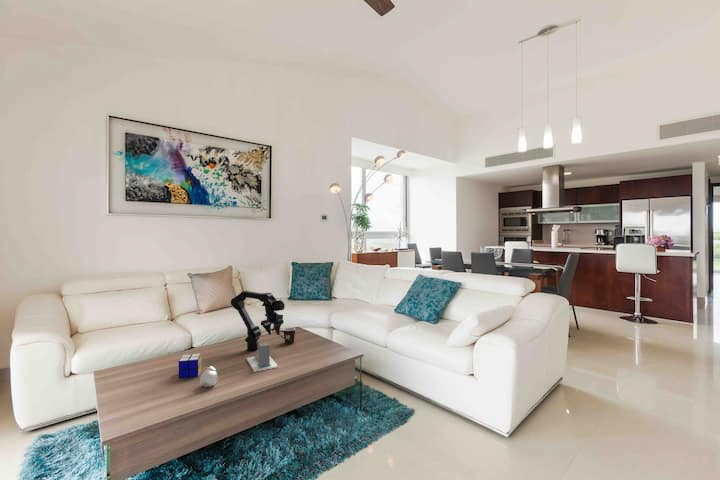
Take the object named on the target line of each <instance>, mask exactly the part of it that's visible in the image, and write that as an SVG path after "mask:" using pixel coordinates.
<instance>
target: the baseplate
mask: <svg viewBox="0 0 720 480" xmlns="http://www.w3.org/2000/svg"><path fill="white" fill-rule="evenodd" d="M246 361H247V362H248V364H249V366H250V367H251V369H252V371H253V372H254V373H257V371H258V372H263V371H267V369H268V370H272V368H273V369H277V367H278V368H279V366H278V364H277V363H276V361H274V358H272V357H271V356H270V366H265V367H261V366H260V365H259V352H257V353H254V356H251V357H246ZM262 370H263V371H262Z"/></svg>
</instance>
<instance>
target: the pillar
mask: <svg viewBox="0 0 720 480" xmlns="http://www.w3.org/2000/svg"><path fill="white" fill-rule="evenodd" d="M258 347H259V348H258V353H259V365H260V366H261V367H265V366H270V357H271V355H270V353H271V352H270V344H269V343H268V342H263V343H258Z"/></svg>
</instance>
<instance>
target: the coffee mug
mask: <svg viewBox="0 0 720 480" xmlns="http://www.w3.org/2000/svg"><path fill="white" fill-rule="evenodd" d="M280 332H282V333H283V336H282V335H281V333H280ZM278 336H280V337H281V338H282V339H284V344H285V345H293V344H294V343H295V337H296V328H295V327H286V328H283V329H282V330H281V329H280V331H279V335H278Z"/></svg>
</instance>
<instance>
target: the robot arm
mask: <svg viewBox="0 0 720 480" xmlns="http://www.w3.org/2000/svg"><path fill="white" fill-rule="evenodd" d="M246 299H253V300H258V301H260V302H262V305H261V307H264V311H265V314H264V316H265V317H266V319H263V320H261V321H260V325H261V326H262V327H263V329H264V330H265V331H266V332H267V334H268V335H269V336H271V335H272V328H271V326H272V325H273V329H274V331H275V334H276V335H277V336H280V335H279V331H280V332H281V326H282V325H283V323H285V322H284V315H283V314H278V313H277V312H278V311H279V312H280V311H284V310H285V308H286V307H285V303H284V302H283V300H282V299H280V300H277V298H276V297H275V295H273V293H272V292H263V293H262V292H255V291H248V290H243V291H241V292H240V293H239V294H237V295H236V296H235V297H232V298H231V300H230V305H231V306H232V308H233V309H235V310H236V311H237V312H238V314H239V316H240V318H241V319H242V322H243V323H244V325H245V326H246V331H247V336H246V337H245V343H247V344H246V348H247V349H246V352H256V351H257V350H259V342H258V340H260V337H261V335H262V330H261V328H260V327H259V326H260V325H255V324H254V322H253V320H252V319H251V317H250V315H249V313H248V311H247V309H246V307H245V306H246V305H245V300H246Z"/></svg>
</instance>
